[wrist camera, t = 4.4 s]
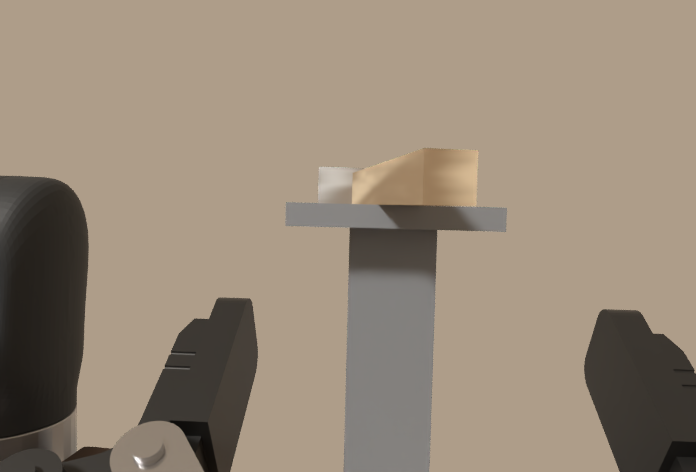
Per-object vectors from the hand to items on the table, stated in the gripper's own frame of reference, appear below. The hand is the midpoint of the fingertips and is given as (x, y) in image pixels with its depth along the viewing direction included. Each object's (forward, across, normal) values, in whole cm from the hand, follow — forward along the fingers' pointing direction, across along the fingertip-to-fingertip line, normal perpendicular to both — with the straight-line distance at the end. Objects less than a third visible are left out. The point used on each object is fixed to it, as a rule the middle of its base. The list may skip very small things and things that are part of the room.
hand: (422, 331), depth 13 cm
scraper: (+23, 0, -10) cm, 25 cm away
